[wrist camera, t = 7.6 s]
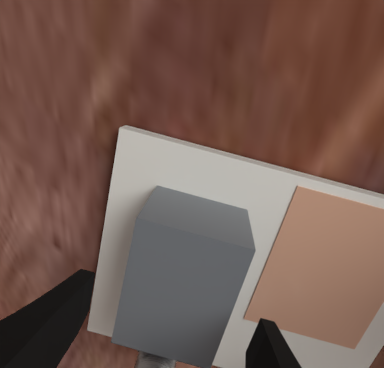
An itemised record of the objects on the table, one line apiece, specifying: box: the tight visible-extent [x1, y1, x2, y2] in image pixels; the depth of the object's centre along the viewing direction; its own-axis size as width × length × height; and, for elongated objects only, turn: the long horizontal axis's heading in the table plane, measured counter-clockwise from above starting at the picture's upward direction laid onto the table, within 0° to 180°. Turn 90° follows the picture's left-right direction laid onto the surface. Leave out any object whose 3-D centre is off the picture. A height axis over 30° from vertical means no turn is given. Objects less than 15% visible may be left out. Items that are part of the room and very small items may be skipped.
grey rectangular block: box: [111, 185, 256, 368], centre depth 15 cm, size 5×7×4 cm
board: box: [87, 125, 384, 368], centre depth 17 cm, size 18×15×1 cm
